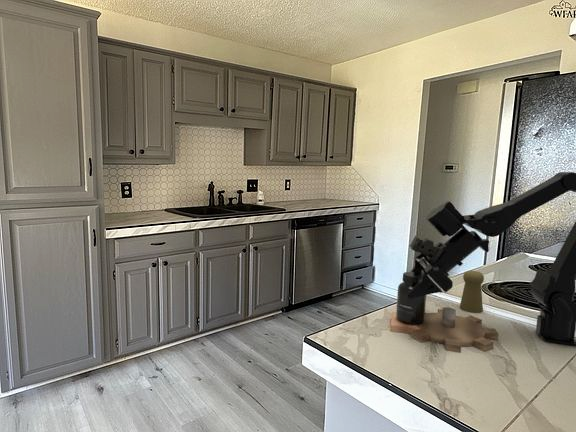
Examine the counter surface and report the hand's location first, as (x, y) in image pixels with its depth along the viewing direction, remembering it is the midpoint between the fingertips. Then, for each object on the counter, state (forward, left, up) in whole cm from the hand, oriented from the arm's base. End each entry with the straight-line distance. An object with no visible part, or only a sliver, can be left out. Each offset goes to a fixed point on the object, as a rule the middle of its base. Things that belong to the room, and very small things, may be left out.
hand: (405, 290), depth 93 cm
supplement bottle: (-2, 0, -8) cm, 8 cm away
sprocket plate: (-9, 0, -9) cm, 13 cm away
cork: (-18, -18, -9) cm, 27 cm away
